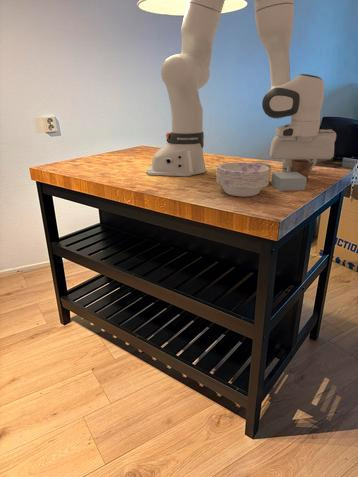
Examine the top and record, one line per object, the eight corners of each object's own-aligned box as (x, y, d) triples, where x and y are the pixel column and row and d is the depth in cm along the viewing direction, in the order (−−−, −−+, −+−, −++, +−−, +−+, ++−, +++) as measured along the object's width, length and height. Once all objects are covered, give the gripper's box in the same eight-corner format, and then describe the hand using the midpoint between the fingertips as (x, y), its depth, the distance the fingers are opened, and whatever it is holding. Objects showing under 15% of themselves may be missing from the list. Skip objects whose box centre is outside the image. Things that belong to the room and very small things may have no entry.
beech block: (254, 184, 114) (256, 166, 112) (248, 180, 119) (249, 163, 116) (269, 183, 115) (270, 165, 113) (262, 179, 120) (264, 162, 117)
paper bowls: (266, 186, 112) (268, 161, 108) (269, 201, 98) (271, 172, 95) (217, 185, 114) (218, 160, 111) (214, 199, 100) (214, 171, 97)
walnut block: (292, 180, 118) (294, 162, 115) (289, 176, 122) (291, 159, 120) (307, 180, 118) (310, 162, 115) (303, 176, 122) (306, 159, 120)
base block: (279, 191, 107) (280, 178, 106) (271, 184, 115) (272, 172, 113) (305, 190, 108) (306, 177, 106) (295, 184, 115) (296, 171, 114)
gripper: (333, 128, 116) (327, 170, 122) (270, 128, 117) (267, 170, 122) (341, 130, 110) (333, 174, 116) (274, 131, 111) (270, 174, 117)
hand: (299, 172), depth 119 cm, fingers closed on walnut block, 5 cm apart
